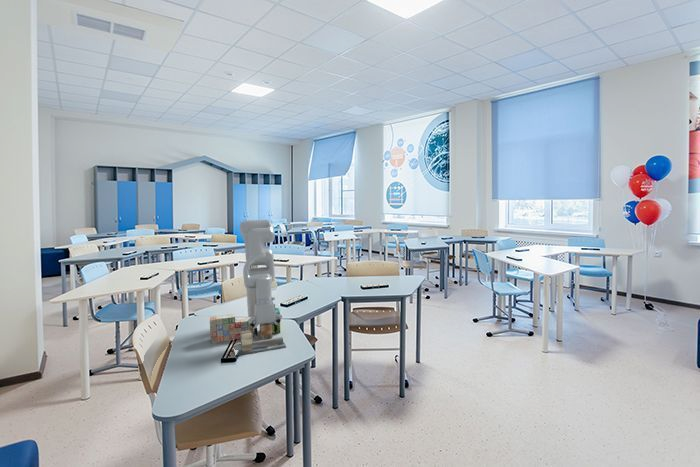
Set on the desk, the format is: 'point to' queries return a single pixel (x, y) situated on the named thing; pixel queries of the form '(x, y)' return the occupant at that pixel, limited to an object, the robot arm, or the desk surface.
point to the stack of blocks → (228, 327)
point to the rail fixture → (257, 344)
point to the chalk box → (276, 320)
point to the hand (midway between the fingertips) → (266, 333)
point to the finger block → (265, 330)
